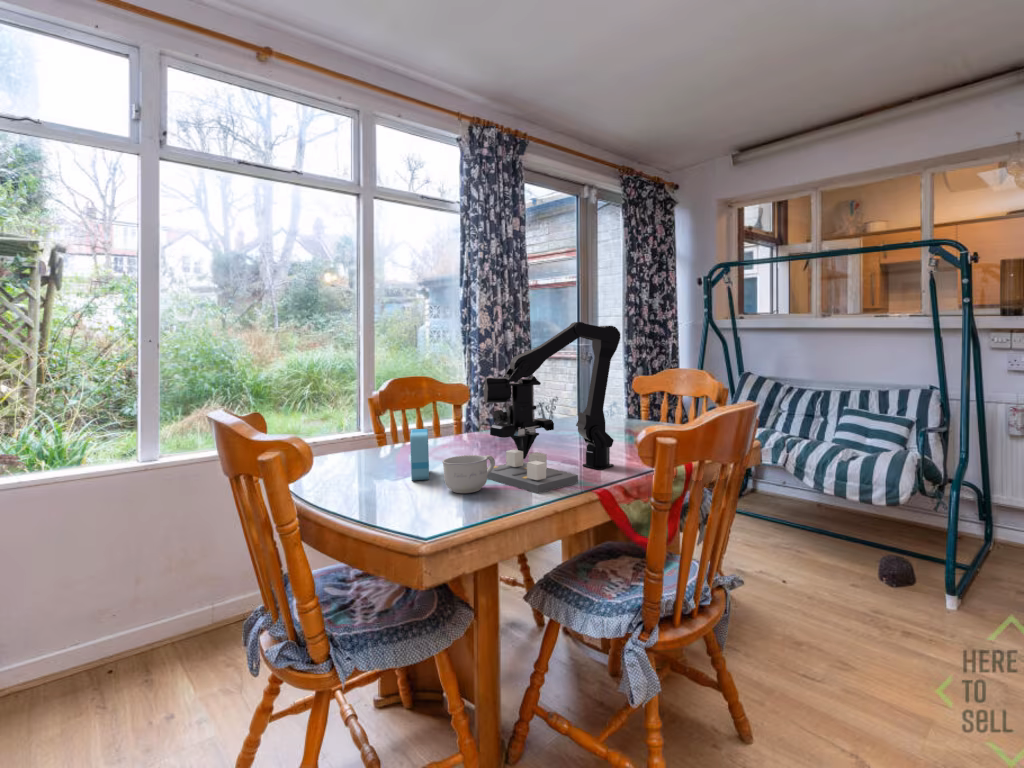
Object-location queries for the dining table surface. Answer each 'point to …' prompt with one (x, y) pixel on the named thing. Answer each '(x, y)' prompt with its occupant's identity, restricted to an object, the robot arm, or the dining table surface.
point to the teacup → (467, 472)
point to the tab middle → (538, 457)
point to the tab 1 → (514, 458)
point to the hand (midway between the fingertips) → (523, 458)
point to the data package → (419, 454)
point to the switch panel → (520, 480)
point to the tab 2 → (536, 470)
